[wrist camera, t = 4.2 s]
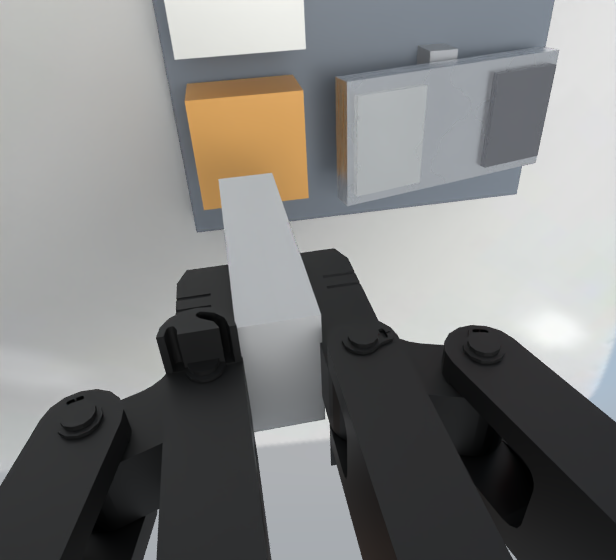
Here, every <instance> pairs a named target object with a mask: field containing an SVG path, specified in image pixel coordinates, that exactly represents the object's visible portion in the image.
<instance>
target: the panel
mask: <svg viewBox="0 0 616 560" xmlns="http://www.w3.org/2000/svg"><path fill="white" fill-rule="evenodd" d="M553 5H554V0H304V18H305V40H306V49H301V50H288V51H276V52H264V53H252V54H239V55H227V56H215V57H203V58H190V59H178V60H175V59H174V53H173V48H172V42H171V36H170V31H169V25H168V20H167V14H166V9H165V3H164V0H153V6H154V11H155V16H156V21H157V27H158V32H159V37H160V42H161V47H162V53H163V58H164V63H165V68H166V74H167V79H168V84H169V89H170V95H171V100H172V105H173V110H174V115H175V121H176V126H177V131H178V136H179V142H180V147H181V152H182V157H183V163H184V168H185V173H186V178H187V183H188V189H189V194H190V199H191V204H192V210H193V215H194V220H195V225H196V231H197V232H205V231H213V230H221V229H224V224H223V215H222V208H218V209H210V210H204V208H203V202H202V197H201V191H200V185H199V180H198V174H197V168H196V163H195V157H194V151H193V146H192V140H191V135H190V129H189V123H188V118H187V112H186V106H185V94H186V86H187V84H190V83H201V82H213V81H224V80H236V79H247V78H259V77H270V76H282V75H293V76H294V77H295V79H296V80H297V82H298V83H299V85H300V86H301V88H302V89H303V94H304V114H305V134H306V154H307V174H308V194H309V198H305V199H296V200H288V201H282V203H283V206H284V209H285V211H286V214H287V217H288V220H289V221H296V220H305V219H313V218H321V217H330V216H338V215H346V214H355V213H363V212H371V211H380V210H388V209H396V208H405V207H413V206H421V205H430V204H438V203H447V202H455V201H463V200H472V199H480V198H488V197H497V196H505V195H513V194H517V189H518V184H519V178H520V173H521V168H522V166H520V167H515V168H511V169H507V170H502V171H498V172H494V173H489V174H485V175H481V176H476V177H472V178H468V179H463V180H459V181H455V182H450V183H446V184H442V185H437V186H433V187H429V188H424V189H420V190H416V191H411V192H407V193H403V194H398V195H394V196H390V197H385V198H381V199H377V200H372V201H368V202H364V203H359V204H355V205H351V206H347V205H345V204H344V203H343V202H342V201H341V200H340V199H339V198H337V149H336V87H335V77H337V76H343V75H350V74H357V73H364V72H371V71H378V70H384V69H391V68H398V67H405V66H412V65H419V64H425V63H432V62H439V61H446V60H453V59H460V58H466V57H473V56H480V55H487V54H494V53H501V52H508V51H514V50H521V49H528V48H535V47H545V46H546V41H547V36H548V31H549V26H550V21H551V16H552V11H553Z"/></svg>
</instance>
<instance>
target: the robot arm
mask: <svg viewBox="0 0 616 560" xmlns="http://www.w3.org/2000/svg"><path fill="white" fill-rule="evenodd" d="M218 180H219V189H220V197H221V206H222V215H223V224H224V232H225V241H226V250H227V258H228V265H222V266H215V267H207V268H200V269H193V270H186V272H185V273H184V275H183V276H182V278H181V279H180V281H179V282H178V283H177V298H176V299H177V301H176V315H175V316H173V317H171V318H169V319H168V320H167V321H166V322H165V323H164V324H163V325H162V326H161V327H160V329H159V331H158V334H157V337H156V340H157V343H158V347H159V350H160V354H161V357H162V361H163V364H164V368H165V371H166V375H165V376H164V377H163V378H162V379H161V380H160V381H158V382H157V383H156V384H154V385H153V386H151V387H150V388H148V389H146V390H144V391H142V392H139V393H137V394H135V395H132V396H130V397H127V398H125V399H123V400H120V398H119V397H117V396H116V395H115V394H113V393H112V392H110V391H105V390H99V389H94V390H87V391H81V392H78V393H76V394H73V395H71V396H68V397H66V398H64V399H62V400H61V401H60V402H58V403H57V404H55V405H54V406H52V407H51V408H50V409H49V410H48V411H47V413H46V414H45V415H44V416H43V417H42V419H41V420H40V421H39V423H38V425H37V426H36V428H35V430H34V431H33V433H32V434H31V436H30V438H29V439H28V441H27V443H26V444H25V446H24V448H23V449H22V451H21V453H20V454H19V456H18V458H17V459H16V461H15V463H14V464H13V466H12V468H11V469H10V471H9V473H8V474H7V476H6V477H5V479H4V481H3V482H2V484H1V486H0V560H143V558H144V555H145V551H146V548H147V545H148V542H149V539H150V535H151V532H152V529H153V526H154V522H155V519H156V516H157V509H159V524H158V543H157V560H271V554H270V546H269V539H268V531H267V523H266V516H265V509H264V501H263V493H262V486H261V478H260V471H259V463H258V455H257V449H256V443H255V436H254V432H258V431H263V430H269V429H274V428H280V427H285V426H290V425H296V424H301V423H307V422H312V421H318V420H323V419H325V408H326V412H327V415H328V419H329V422H330V445H331V465H337V468H338V471H339V475H340V479H341V482H342V486H343V489H344V493H345V497H346V500H347V504H348V508H349V511H350V515H351V519H352V522H353V526H354V530H355V533H356V537H357V541H358V544H359V548H360V551H361V555H362V559H363V560H513V559H512V557H511V555H510V553H509V551H508V549H507V547H508V548H509V550H510V551H511V552H512V554H513V555H514V556H515V557H516V558H517V560H616V422H615V421H613V420H612V419H611V418H610V417H609V416H608V415H606V414H605V413H604V412H603V411H601V410H600V409H599V408H598V407H596V406H595V405H594V404H593V403H592V402H590V401H589V400H588V399H587V398H585V397H584V396H583V395H582V394H581V393H579V392H578V391H577V390H576V389H574V388H573V387H572V386H571V385H570V384H568V383H567V382H566V381H565V380H563V379H562V378H561V377H560V376H559V375H557V374H556V373H555V372H554V371H552V370H551V369H550V368H549V367H548V366H546V365H545V364H544V363H543V362H541V361H540V360H539V359H538V358H537V357H535V356H534V355H533V354H532V353H530V352H529V351H528V350H527V349H525V348H524V347H523V346H522V345H521V344H519V343H518V342H517V341H516V340H514V339H513V338H512V337H510V336H509V335H507V334H505V333H504V332H502V331H500V330H497V329H494V328H490V327H487V326H476V325H470V326H465V327H460V328H458V329H456V330H454V331H453V332H451V333H449V335H448V337H447V338H446V340H445V342H444V345H434V344H420V343H414V342H408V341H405V340H402V339H399V337H398V335H397V334H396V333H395V332H394V331H393V330H392V328H391V327H389V326H387V325H385V324H383V323H382V322H380V321H378V319H377V317H376V315H375V313H374V311H373V309H372V307H371V305H370V303H369V300H368V298H367V296H366V294H365V292H364V290H363V288H362V286H361V284H359V280H358V278H357V276H356V274H354V270H353V268H352V266H351V264H350V262H349V260H348V258H347V257H345V256H344V255H343V254H341V253H340V252H338V251H337V250H336V249H327V250H319V251H312V252H305V253H300V252H299V249H298V246H297V243H296V240H295V238H294V235H293V232H292V229H291V226H290V223H289V220H288V217H287V214H286V211H285V209H284V206H283V203H282V200H281V197H280V194H279V191H278V188H277V185H276V183H275V180H274V177H273V174H272V173H266V174H258V175H249V176H240V177H232V178H223V179H218ZM506 546H507V547H506Z"/></svg>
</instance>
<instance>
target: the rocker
mask: <svg viewBox="0 0 616 560" xmlns="http://www.w3.org/2000/svg"><path fill="white" fill-rule="evenodd" d="M558 54H559V50H557V49H552V48H547V47H535V48H528V49H521V50H514V51H508V52H501V53H494V54H487V55H480V56H473V57H466V58H460V59H453V60H446V61H439V62H432V63H425V64H419V65H412V66H405V67H398V68H391V69H384V70H378V71H371V72H364V73H357V74H350V75H343V76H337V77H335V87H336V149H337V198H339V199H340V200H341V201H342V202H343V203H344V204H345V205H347V206H351V205H355V204H359V203H364V202H368V201H372V200H377V199H381V198H385V197H390V196H394V195H398V194H403V193H407V192H411V191H416V190H420V189H424V188H429V187H433V186H437V185H442V184H446V183H450V182H455V181H459V180H463V179H468V178H472V177H476V176H481V175H485V174H489V173H494V172H498V171H502V170H507V169H511V168H515V167H520V166H524V165H528V164H533V163H535V162H536V158H537V154H538V150H539V145H540V140H541V135H542V131H543V126H544V121H545V117H546V112H547V107H548V102H549V98H550V93H551V88H552V83H553V79H554V74H555V69H556V63H557V58H558Z"/></svg>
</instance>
